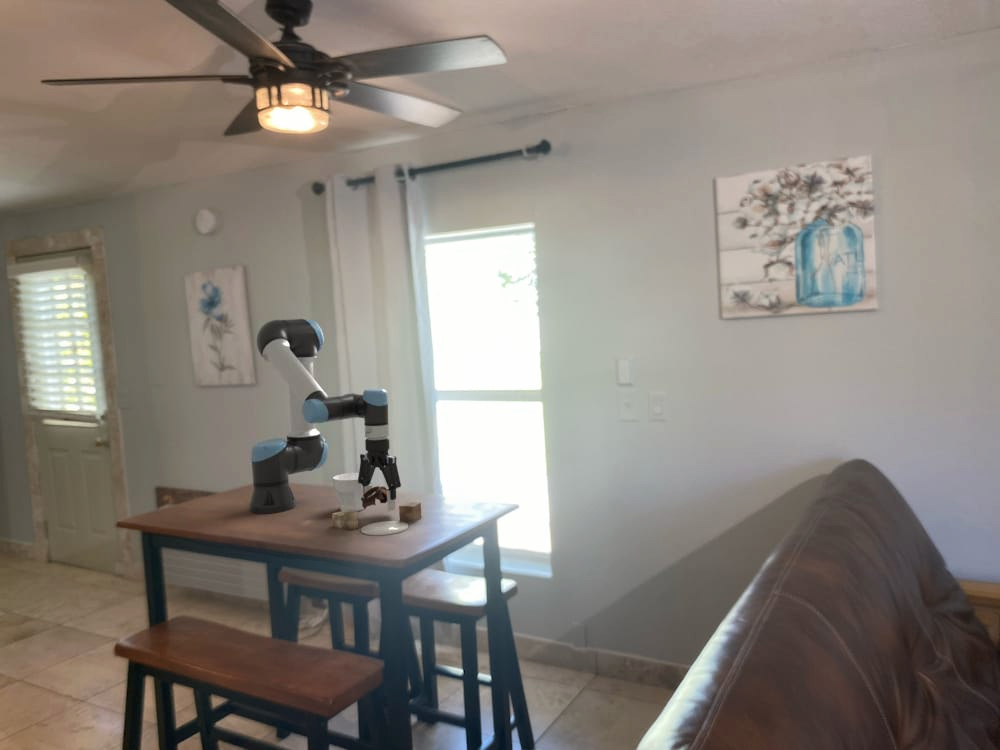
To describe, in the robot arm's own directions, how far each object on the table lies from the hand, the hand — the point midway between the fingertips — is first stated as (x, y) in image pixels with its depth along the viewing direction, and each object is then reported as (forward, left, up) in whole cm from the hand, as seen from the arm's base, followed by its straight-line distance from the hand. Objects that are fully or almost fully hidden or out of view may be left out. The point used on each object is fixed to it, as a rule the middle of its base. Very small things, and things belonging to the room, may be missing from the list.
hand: (380, 507), depth 233 cm
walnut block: (+11, +1, -3) cm, 12 cm away
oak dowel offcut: (+1, -14, -3) cm, 14 cm away
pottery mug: (-1, 0, -1) cm, 1 cm away
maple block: (-4, -12, -3) cm, 13 cm away
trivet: (+11, -10, -3) cm, 16 cm away
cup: (-17, +4, -3) cm, 17 cm away
